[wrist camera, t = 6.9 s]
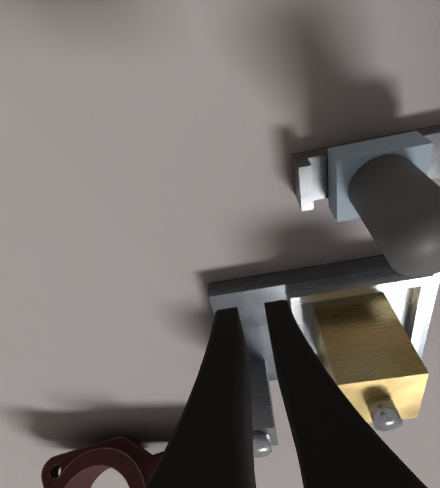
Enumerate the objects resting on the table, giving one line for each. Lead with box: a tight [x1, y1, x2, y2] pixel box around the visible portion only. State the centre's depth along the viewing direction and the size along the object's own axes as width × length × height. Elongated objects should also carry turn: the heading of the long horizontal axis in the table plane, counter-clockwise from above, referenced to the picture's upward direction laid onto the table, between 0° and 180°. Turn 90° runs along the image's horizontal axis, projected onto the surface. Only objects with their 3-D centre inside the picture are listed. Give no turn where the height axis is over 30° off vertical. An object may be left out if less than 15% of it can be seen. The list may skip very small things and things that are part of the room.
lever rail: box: [292, 125, 440, 211], centre depth 17 cm, size 13×2×2 cm, turn 101°
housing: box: [313, 295, 429, 431], centre depth 21 cm, size 4×4×7 cm
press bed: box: [208, 255, 440, 457], centre depth 22 cm, size 14×10×7 cm
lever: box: [328, 131, 440, 277], centre depth 15 cm, size 4×3×6 cm
